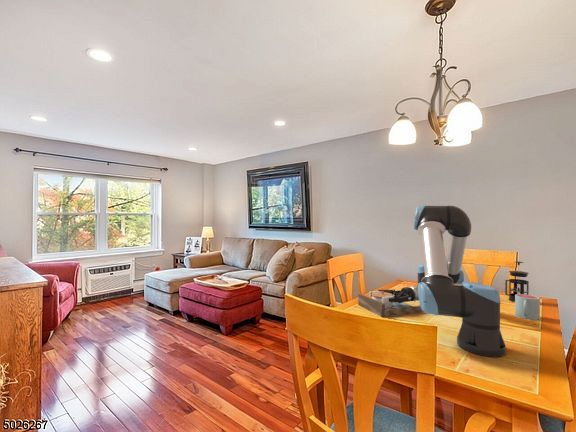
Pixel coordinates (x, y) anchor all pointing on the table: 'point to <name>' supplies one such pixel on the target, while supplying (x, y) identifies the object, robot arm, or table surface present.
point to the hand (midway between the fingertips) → (375, 297)
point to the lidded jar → (378, 297)
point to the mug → (527, 306)
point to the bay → (380, 309)
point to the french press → (521, 282)
